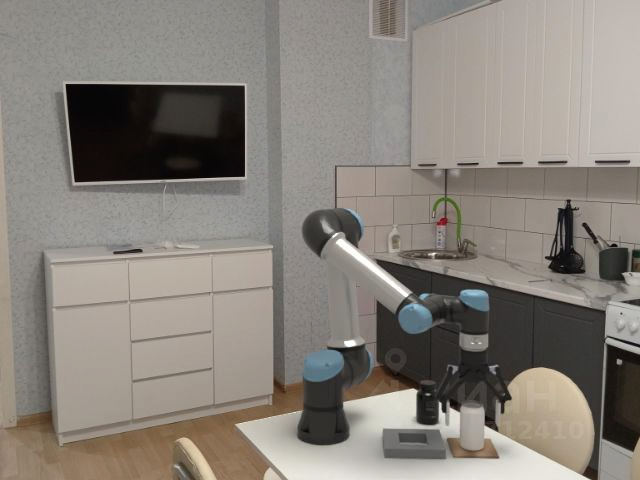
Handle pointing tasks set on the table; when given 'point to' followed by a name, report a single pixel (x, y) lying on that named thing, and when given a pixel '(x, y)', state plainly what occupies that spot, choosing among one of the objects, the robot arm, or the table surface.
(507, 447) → the table surface
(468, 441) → the can
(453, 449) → the pad
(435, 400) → the supplement bottle
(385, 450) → the plate
